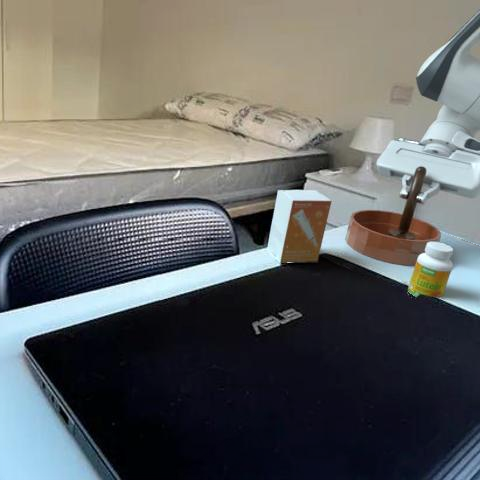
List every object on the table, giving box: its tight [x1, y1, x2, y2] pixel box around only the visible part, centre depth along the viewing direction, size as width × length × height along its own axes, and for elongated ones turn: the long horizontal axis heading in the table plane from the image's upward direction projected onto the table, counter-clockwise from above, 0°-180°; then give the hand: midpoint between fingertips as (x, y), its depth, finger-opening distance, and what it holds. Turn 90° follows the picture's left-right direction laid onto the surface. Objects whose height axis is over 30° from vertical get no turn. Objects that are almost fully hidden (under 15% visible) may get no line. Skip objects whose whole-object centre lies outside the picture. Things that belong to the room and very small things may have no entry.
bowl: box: [344, 209, 442, 267], centre depth 104 cm, size 17×17×6 cm
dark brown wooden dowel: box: [388, 166, 427, 240], centre depth 101 cm, size 5×5×16 cm
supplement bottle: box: [407, 241, 454, 298], centre depth 85 cm, size 5×5×10 cm
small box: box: [266, 189, 332, 264], centre depth 95 cm, size 8×6×13 cm
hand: (411, 199), depth 101 cm, fingers closed on dark brown wooden dowel
